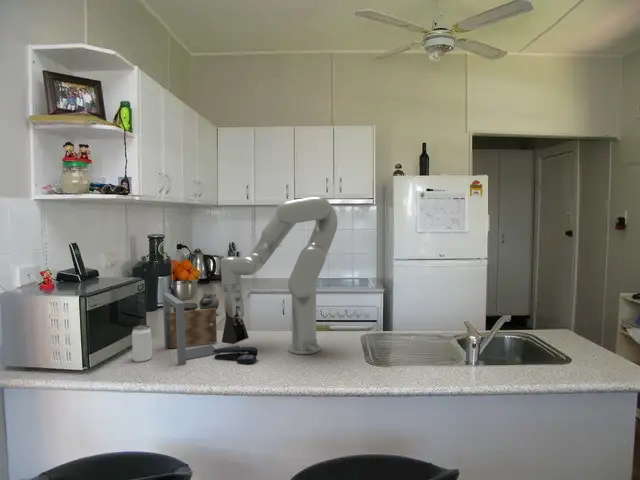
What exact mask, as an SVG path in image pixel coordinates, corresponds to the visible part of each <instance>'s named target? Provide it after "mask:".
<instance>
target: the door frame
mask: <svg viewBox="0 0 640 480" xmlns="http://www.w3.org/2000/svg"><path fill="white" fill-rule="evenodd" d="M171 306H172V307H175V308H176V327H177V347H176V350H177V351H176V353H177V357H176V358H177V365H178V366H181V365H186V364H187V360H186V350H187V349H186V346H185V319H184V302H183V301H182V300H181V299H179V298H177V297H176V296H175V295H173V294H171V293H170V292H166V293H165V292H164V293H162V307H163V330H164V331H163V335H164V336H163V337H164V338H163V339H164V342H163V343H164V348H165V349H168V348H167V325H166V313H170V312H172V311H171V309H172V308H171Z"/></svg>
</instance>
